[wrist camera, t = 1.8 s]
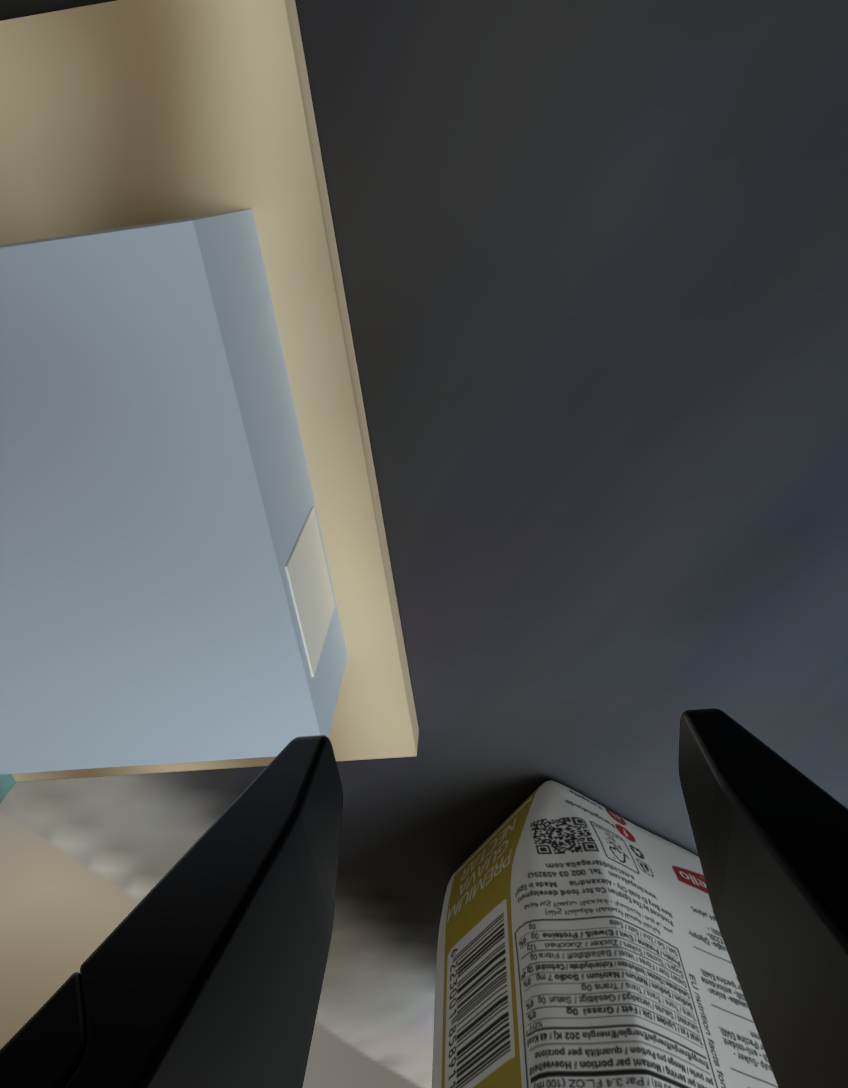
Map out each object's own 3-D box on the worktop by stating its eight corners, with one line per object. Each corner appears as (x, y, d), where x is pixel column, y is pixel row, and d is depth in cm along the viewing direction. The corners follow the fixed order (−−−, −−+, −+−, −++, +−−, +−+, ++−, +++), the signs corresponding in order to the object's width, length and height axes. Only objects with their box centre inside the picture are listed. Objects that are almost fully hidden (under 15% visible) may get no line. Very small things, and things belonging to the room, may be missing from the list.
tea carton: (254, 208, 16) (195, 220, 12) (349, 656, 21) (326, 753, 18) (-126, 262, 17) (-283, 288, 13) (56, 678, 22) (-20, 775, 19)
